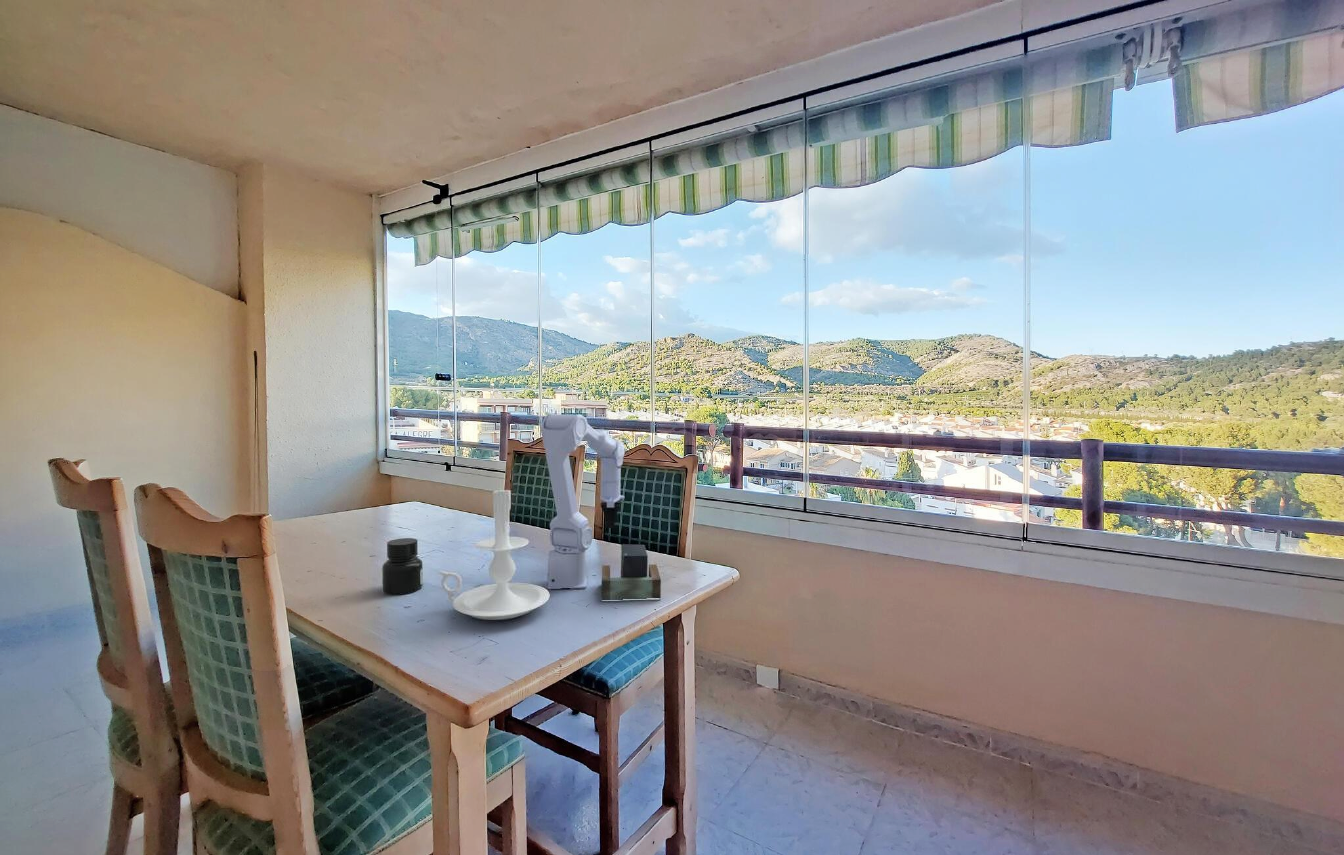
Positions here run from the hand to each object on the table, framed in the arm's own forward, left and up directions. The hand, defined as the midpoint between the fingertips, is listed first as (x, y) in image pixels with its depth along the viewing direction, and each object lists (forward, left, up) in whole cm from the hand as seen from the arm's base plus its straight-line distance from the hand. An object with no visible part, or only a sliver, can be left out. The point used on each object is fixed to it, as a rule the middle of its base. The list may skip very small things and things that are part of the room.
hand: (610, 527), depth 160 cm
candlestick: (-26, -35, -11) cm, 45 cm away
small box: (+6, -24, -11) cm, 27 cm away
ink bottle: (-51, -19, -11) cm, 55 cm away
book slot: (+5, -25, -10) cm, 28 cm away
